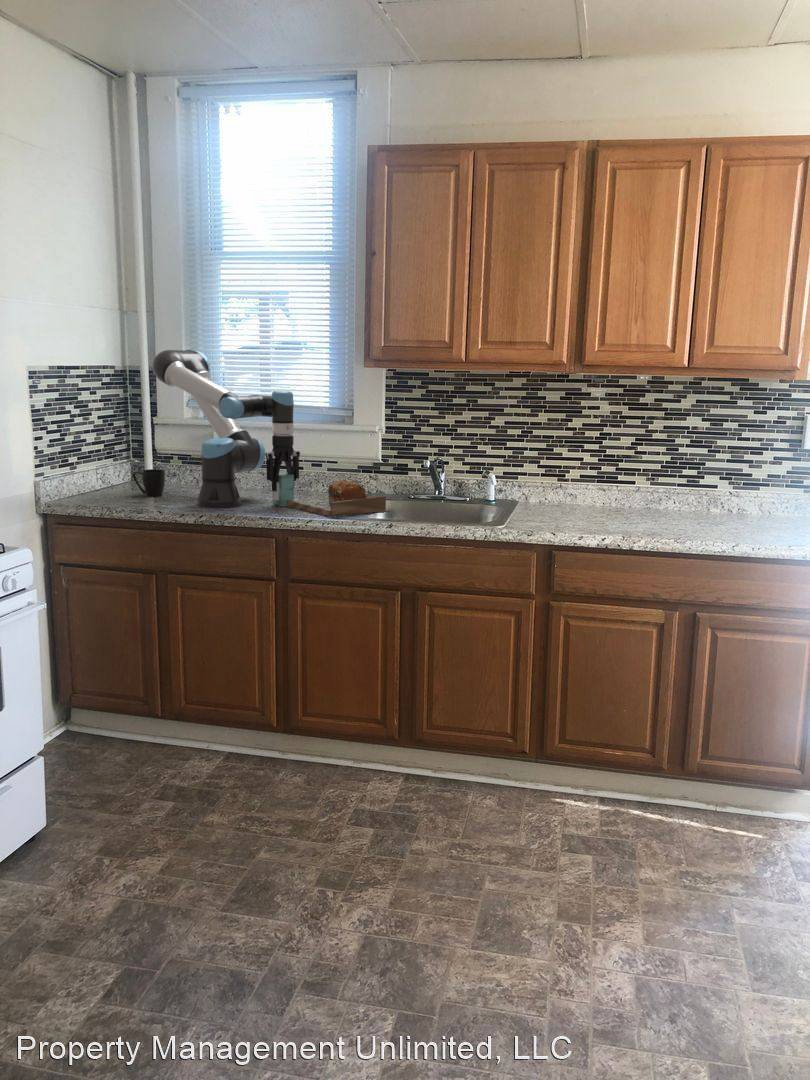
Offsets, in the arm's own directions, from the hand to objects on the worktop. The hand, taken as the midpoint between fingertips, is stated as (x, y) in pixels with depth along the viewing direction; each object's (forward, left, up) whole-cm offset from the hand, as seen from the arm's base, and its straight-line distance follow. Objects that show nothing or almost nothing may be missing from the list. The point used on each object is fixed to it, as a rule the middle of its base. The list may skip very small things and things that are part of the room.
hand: (283, 499), depth 331 cm
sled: (+14, +10, -2) cm, 17 cm away
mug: (-46, -29, -2) cm, 55 cm away
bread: (+19, +14, -3) cm, 24 cm away
